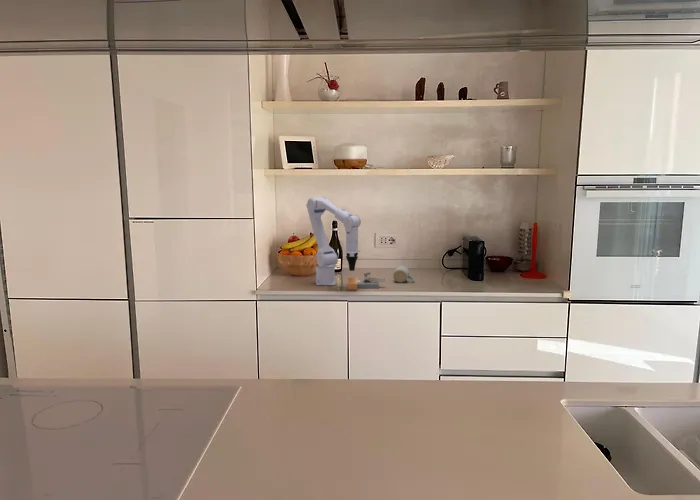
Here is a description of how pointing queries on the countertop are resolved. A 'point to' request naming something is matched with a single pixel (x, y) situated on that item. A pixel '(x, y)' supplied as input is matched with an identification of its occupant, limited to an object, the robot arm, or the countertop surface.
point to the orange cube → (352, 283)
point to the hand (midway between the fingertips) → (352, 269)
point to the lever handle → (372, 278)
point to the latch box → (367, 284)
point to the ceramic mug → (402, 275)
